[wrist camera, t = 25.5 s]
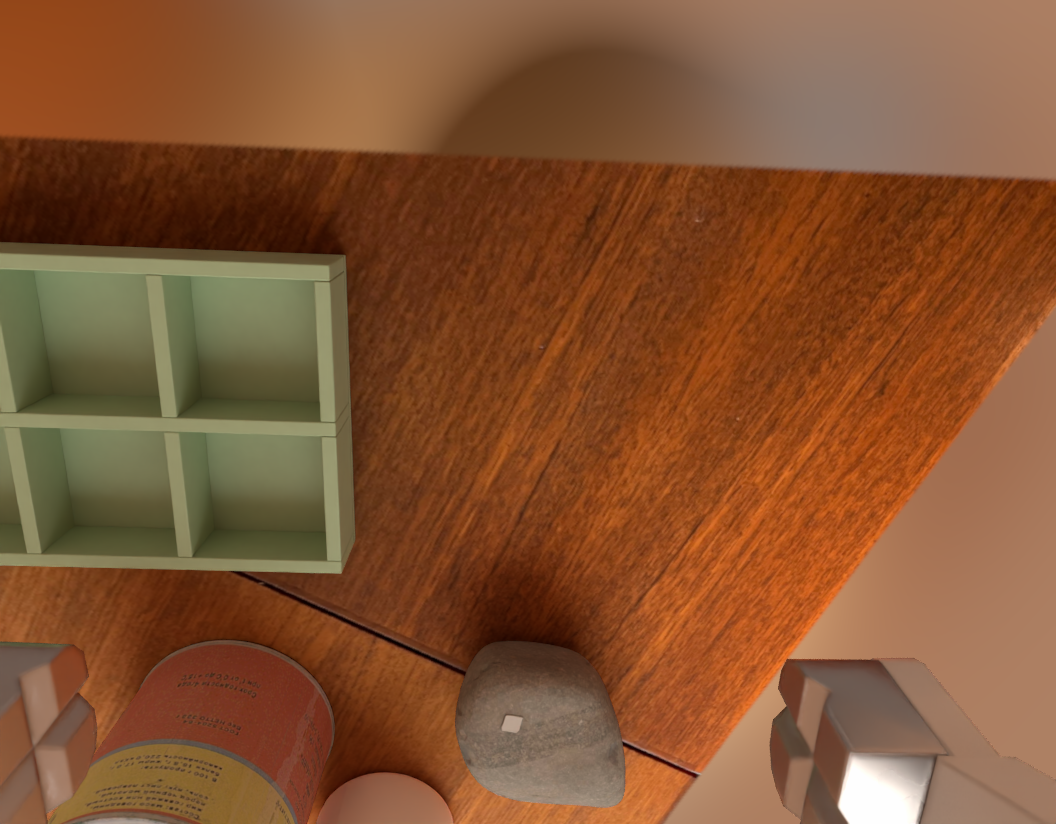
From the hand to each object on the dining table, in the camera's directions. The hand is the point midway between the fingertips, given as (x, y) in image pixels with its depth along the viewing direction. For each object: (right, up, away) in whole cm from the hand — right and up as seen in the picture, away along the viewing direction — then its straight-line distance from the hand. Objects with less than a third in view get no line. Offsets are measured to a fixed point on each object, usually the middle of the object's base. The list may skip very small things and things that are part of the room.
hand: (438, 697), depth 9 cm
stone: (+2, -13, +35) cm, 38 cm away
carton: (-19, +4, +29) cm, 35 cm away
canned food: (-16, -14, +35) cm, 41 cm away
